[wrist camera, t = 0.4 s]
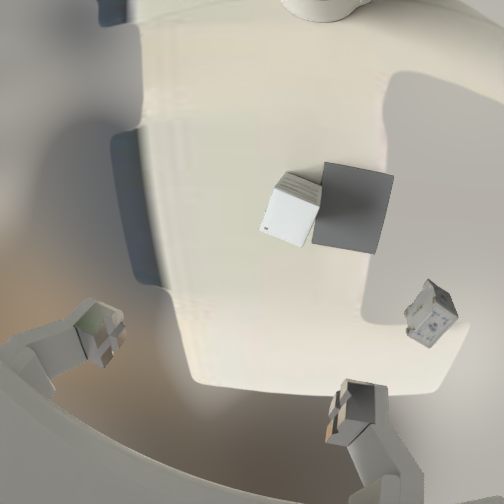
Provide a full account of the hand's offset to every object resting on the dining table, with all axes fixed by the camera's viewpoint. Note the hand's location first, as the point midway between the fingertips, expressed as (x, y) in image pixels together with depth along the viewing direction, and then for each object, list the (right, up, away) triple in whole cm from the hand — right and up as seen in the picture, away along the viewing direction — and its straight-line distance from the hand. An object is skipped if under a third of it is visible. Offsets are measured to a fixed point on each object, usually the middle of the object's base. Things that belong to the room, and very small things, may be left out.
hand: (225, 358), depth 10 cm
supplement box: (+9, +14, +45) cm, 48 cm away
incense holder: (+39, -7, +49) cm, 63 cm away
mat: (+19, +11, +44) cm, 49 cm away
